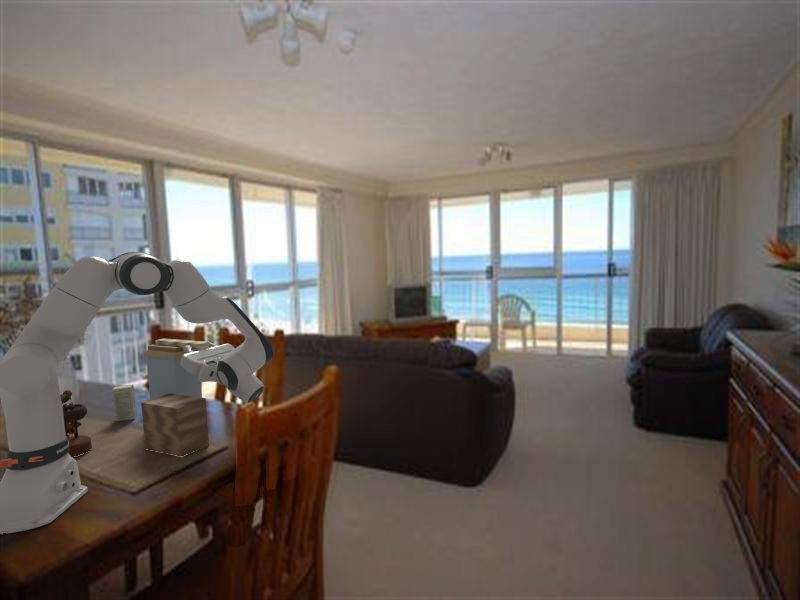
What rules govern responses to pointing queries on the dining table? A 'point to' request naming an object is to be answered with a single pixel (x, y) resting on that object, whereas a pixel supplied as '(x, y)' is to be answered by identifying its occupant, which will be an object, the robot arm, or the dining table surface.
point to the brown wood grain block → (175, 424)
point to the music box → (74, 425)
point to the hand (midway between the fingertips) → (195, 344)
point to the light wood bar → (184, 344)
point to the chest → (169, 373)
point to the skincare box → (124, 402)
